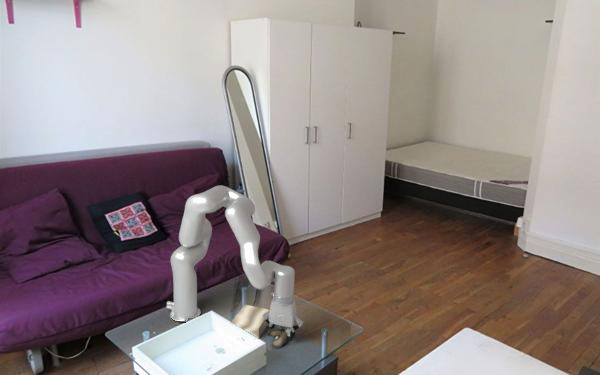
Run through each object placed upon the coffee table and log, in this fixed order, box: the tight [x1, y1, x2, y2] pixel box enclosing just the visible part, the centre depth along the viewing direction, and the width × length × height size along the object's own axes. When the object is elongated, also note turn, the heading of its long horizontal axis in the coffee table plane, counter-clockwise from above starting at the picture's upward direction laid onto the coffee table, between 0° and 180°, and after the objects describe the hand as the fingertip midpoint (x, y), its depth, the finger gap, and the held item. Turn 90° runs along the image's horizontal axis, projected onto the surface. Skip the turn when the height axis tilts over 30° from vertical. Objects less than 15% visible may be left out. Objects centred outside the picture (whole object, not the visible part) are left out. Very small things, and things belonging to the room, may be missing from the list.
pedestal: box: [230, 304, 270, 339], centre depth 194 cm, size 12×14×5 cm
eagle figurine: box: [266, 326, 291, 349], centre depth 185 cm, size 8×7×9 cm
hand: (282, 336), depth 186 cm, fingers closed on eagle figurine, 7 cm apart
